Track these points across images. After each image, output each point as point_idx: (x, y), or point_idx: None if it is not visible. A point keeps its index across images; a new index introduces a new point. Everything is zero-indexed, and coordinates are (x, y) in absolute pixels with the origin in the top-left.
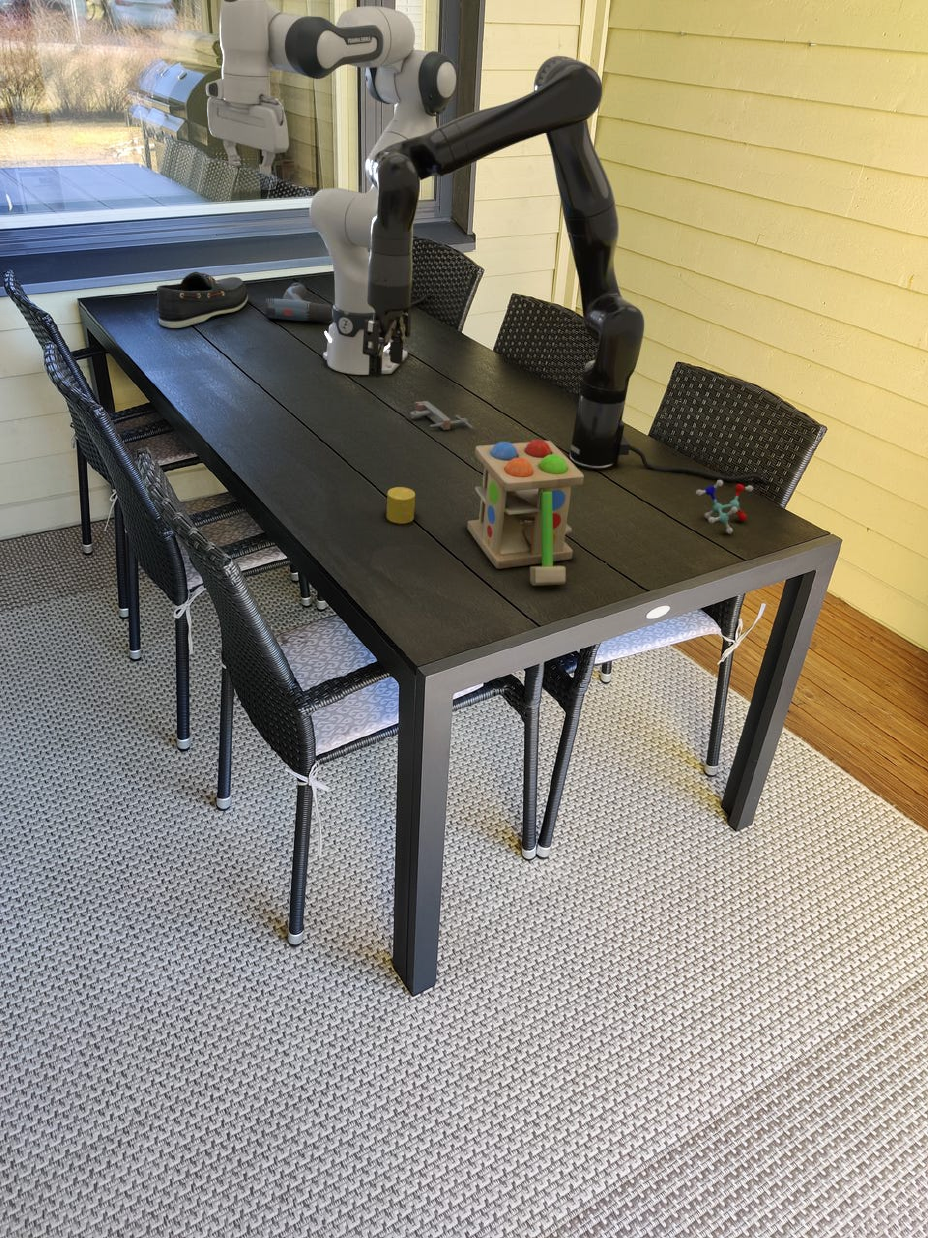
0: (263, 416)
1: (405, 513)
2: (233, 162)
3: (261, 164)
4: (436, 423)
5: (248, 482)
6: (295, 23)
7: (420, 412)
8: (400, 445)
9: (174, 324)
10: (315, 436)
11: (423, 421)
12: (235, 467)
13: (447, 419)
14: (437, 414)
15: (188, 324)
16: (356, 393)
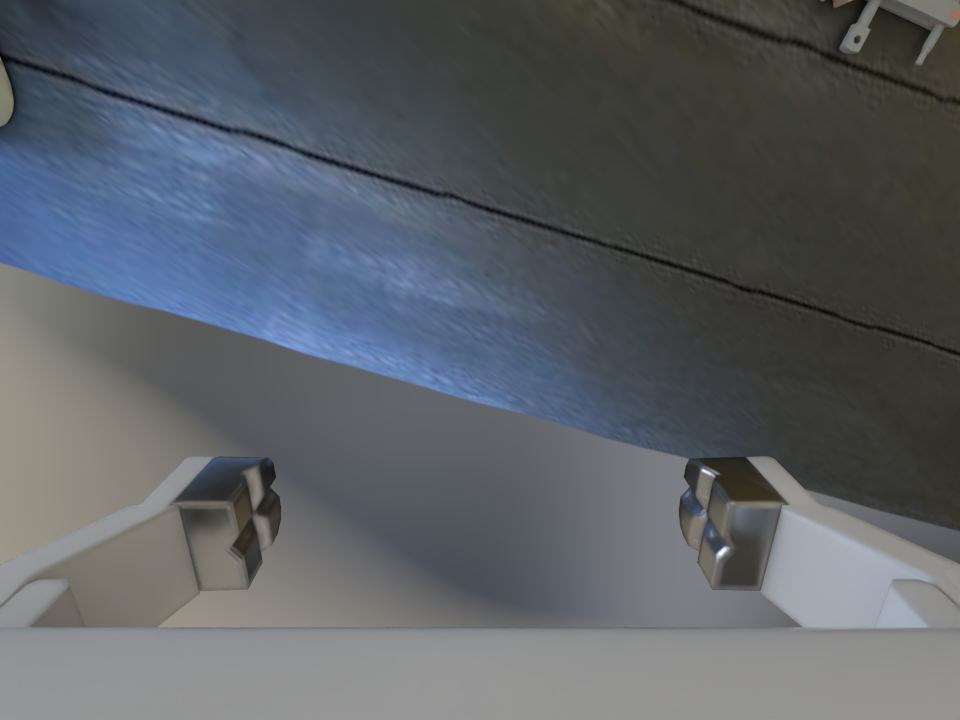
0: (588, 300)
1: None
2: (271, 542)
3: (733, 573)
4: (930, 46)
5: None
6: None
7: (867, 26)
8: (884, 180)
9: (3, 115)
10: (724, 285)
11: None
12: None
13: (957, 14)
14: (921, 9)
15: (4, 73)
16: (638, 34)
